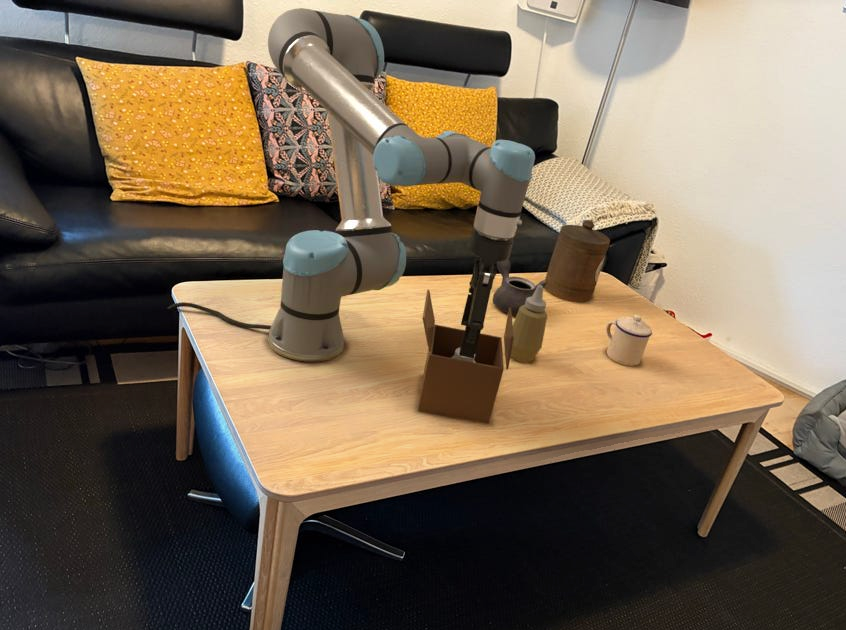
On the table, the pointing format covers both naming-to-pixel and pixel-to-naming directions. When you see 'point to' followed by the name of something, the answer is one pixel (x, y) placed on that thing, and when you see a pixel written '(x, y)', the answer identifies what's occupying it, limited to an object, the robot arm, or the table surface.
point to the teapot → (513, 289)
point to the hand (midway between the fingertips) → (467, 340)
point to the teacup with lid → (628, 340)
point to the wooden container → (576, 262)
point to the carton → (464, 374)
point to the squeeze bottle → (529, 327)
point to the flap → (428, 320)
